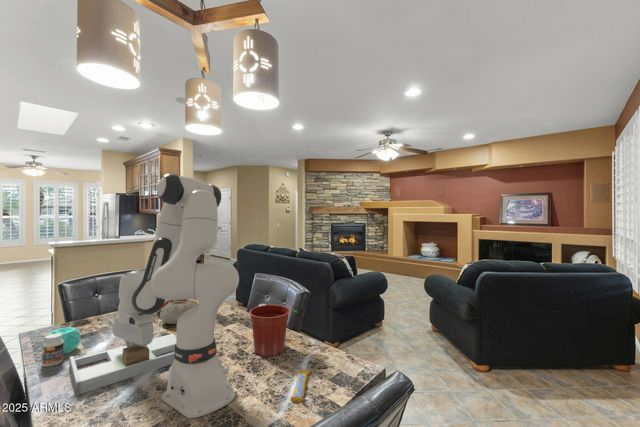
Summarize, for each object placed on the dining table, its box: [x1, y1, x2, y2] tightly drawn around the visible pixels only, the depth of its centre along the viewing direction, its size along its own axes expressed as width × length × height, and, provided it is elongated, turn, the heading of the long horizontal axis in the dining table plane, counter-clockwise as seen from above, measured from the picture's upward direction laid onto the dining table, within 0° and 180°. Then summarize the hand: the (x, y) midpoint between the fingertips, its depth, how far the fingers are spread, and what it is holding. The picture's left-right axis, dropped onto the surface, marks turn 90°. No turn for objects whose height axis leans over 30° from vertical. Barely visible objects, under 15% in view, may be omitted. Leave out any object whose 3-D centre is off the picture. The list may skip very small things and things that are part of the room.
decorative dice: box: [42, 326, 81, 355], centre depth 113 cm, size 8×8×8 cm
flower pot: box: [248, 304, 291, 357], centre depth 117 cm, size 16×16×16 cm
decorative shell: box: [159, 300, 198, 325], centre depth 146 cm, size 18×18×10 cm
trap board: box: [69, 333, 176, 396], centre depth 105 cm, size 22×34×4 cm, turn 135°
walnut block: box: [123, 345, 149, 367], centre depth 101 cm, size 7×7×4 cm
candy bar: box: [290, 369, 311, 403], centre depth 91 cm, size 17×4×2 cm, turn 176°
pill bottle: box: [41, 333, 65, 367], centre depth 104 cm, size 6×6×10 cm
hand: (131, 351), depth 105 cm, fingers closed
